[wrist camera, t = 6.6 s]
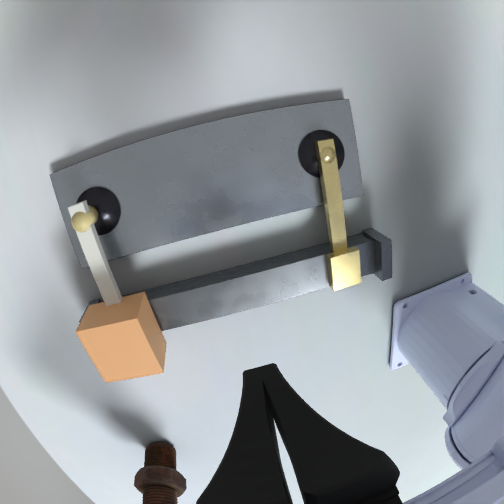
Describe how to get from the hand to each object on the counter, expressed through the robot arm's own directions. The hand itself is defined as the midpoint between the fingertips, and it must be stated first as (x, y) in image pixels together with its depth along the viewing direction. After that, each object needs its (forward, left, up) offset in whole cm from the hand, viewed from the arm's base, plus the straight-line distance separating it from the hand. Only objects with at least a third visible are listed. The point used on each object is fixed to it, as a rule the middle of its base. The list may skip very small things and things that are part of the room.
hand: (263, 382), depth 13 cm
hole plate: (0, -7, -9) cm, 12 cm away
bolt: (+12, +16, -10) cm, 23 cm away
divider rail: (0, -3, -9) cm, 10 cm away
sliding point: (+8, -3, -8) cm, 12 cm away
